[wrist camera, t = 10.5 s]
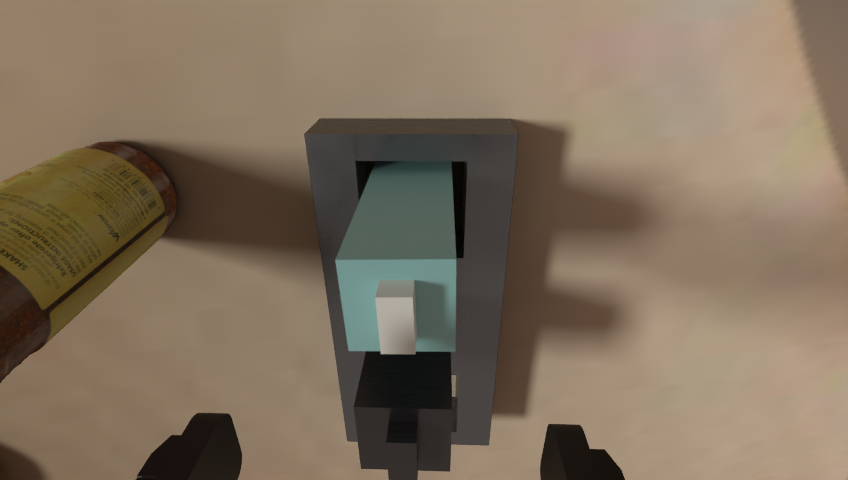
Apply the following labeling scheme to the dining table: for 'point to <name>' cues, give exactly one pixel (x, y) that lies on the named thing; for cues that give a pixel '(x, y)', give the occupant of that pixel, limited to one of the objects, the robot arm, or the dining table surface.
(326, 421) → the dining table surface
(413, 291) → the plug
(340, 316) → the gray slotted rack
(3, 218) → the sauce bottle
